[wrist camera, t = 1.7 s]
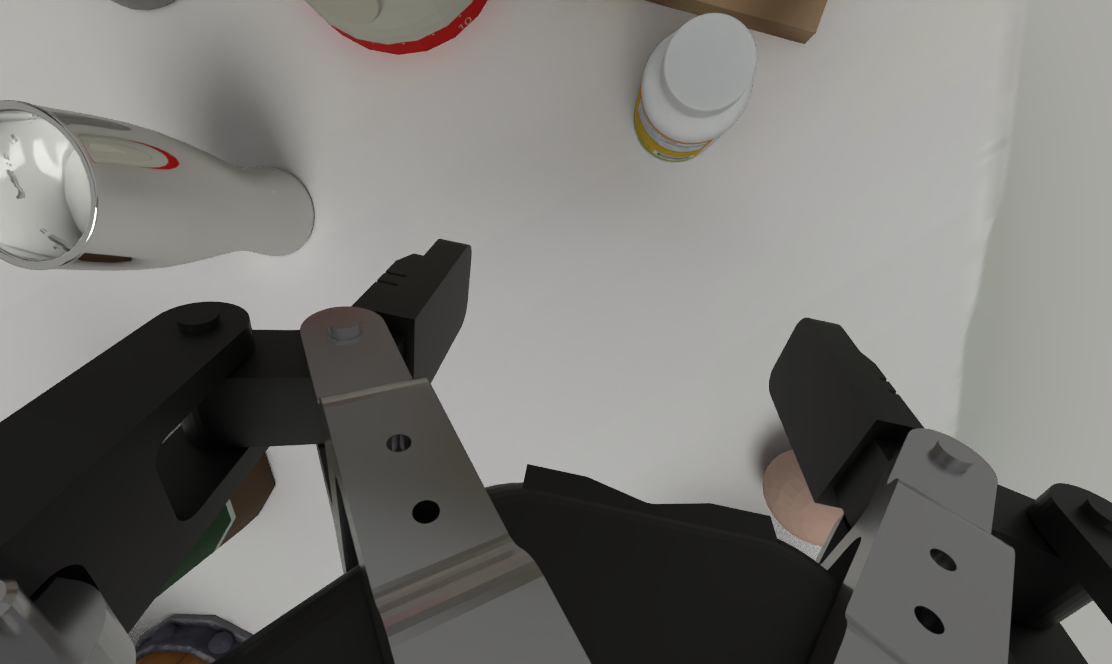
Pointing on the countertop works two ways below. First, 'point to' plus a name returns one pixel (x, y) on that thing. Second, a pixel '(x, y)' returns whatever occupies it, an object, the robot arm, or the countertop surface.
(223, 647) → the mug
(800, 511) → the egg
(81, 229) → the beer glass
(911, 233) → the countertop surface
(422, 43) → the kitchen timer
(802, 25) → the socket board
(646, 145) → the supplement bottle
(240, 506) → the beer bottle
